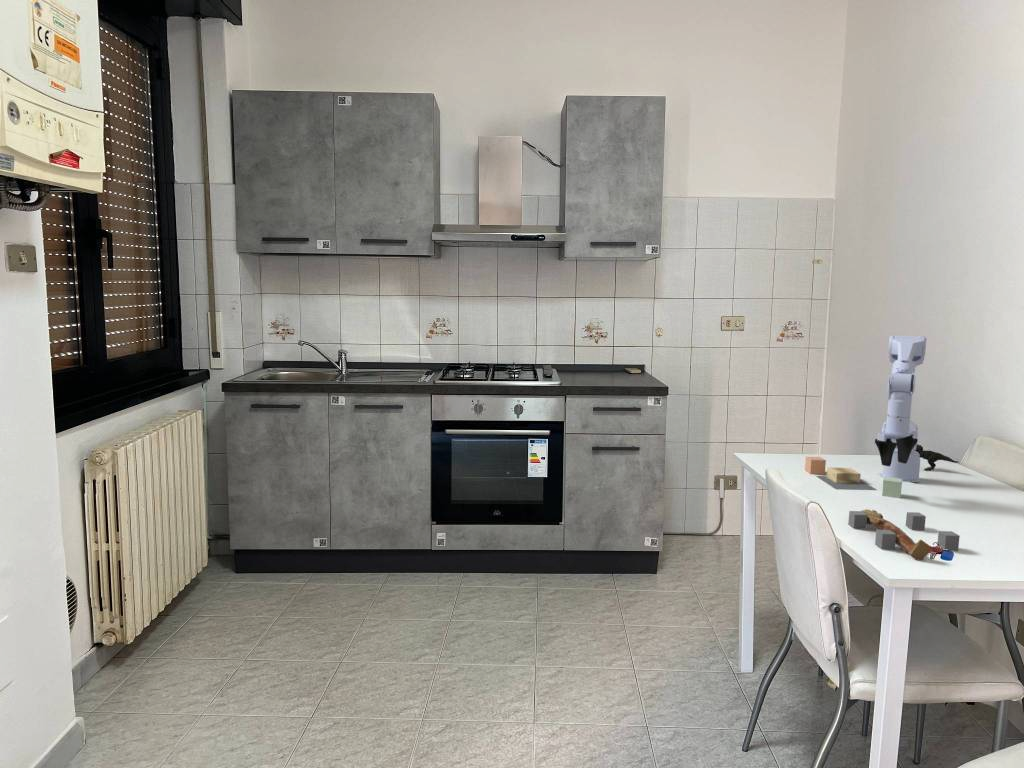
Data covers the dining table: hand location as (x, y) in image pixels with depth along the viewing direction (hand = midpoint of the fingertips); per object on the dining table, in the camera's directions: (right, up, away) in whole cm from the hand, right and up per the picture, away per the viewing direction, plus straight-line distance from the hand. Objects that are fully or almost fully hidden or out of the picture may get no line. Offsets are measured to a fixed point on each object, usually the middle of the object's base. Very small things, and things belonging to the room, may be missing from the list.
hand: (894, 464), depth 206 cm
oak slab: (-7, -7, +17) cm, 19 cm away
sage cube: (0, -9, +1) cm, 9 cm away
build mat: (-7, -7, +14) cm, 17 cm away
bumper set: (-16, -14, -33) cm, 39 cm away
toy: (+29, -6, +32) cm, 44 cm away
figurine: (-19, -14, -33) cm, 41 cm away
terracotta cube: (-12, -6, +26) cm, 29 cm away
